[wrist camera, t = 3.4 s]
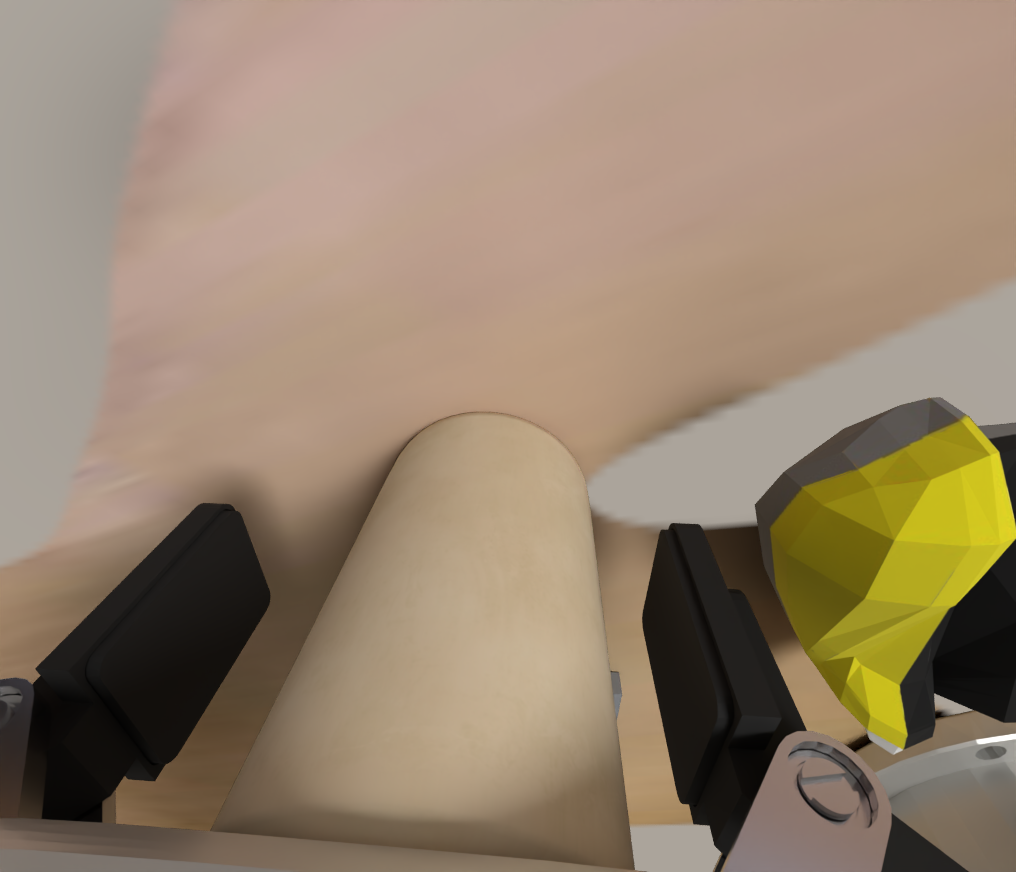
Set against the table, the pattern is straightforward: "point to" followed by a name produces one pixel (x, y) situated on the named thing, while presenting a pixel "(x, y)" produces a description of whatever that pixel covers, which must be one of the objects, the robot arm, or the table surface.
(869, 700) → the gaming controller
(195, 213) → the table surface
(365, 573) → the candle
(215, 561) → the robot arm
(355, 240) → the table surface
